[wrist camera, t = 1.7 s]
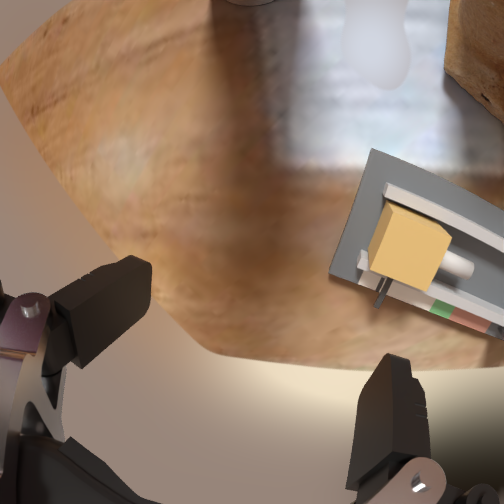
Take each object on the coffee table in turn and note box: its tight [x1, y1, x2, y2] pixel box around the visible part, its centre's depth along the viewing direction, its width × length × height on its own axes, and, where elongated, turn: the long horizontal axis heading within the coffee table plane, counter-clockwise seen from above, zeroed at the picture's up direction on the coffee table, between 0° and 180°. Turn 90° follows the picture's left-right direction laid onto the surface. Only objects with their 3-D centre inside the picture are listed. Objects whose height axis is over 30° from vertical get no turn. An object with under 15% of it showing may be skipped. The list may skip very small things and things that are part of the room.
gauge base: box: [328, 148, 504, 341], centre depth 22 cm, size 24×12×4 cm, turn 75°
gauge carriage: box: [368, 200, 474, 309], centre depth 22 cm, size 9×9×5 cm
